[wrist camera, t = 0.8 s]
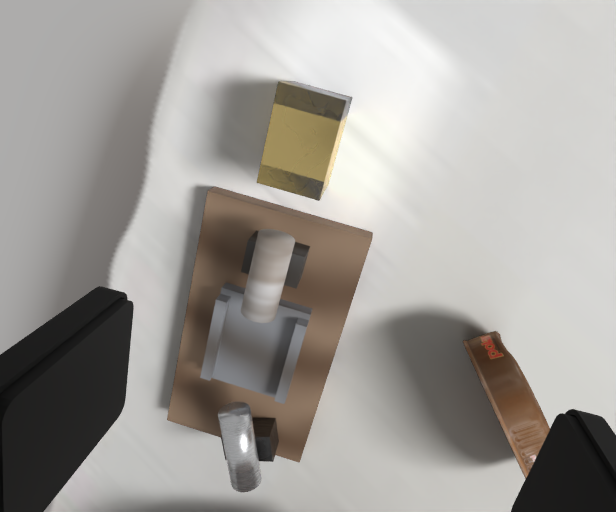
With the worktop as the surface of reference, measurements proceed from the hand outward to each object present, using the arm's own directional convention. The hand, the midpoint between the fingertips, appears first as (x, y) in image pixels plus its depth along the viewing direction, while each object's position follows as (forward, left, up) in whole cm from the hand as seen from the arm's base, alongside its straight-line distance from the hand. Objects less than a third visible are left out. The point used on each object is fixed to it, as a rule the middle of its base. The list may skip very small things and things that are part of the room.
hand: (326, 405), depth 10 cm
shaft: (+21, -3, -23) cm, 32 cm away
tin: (+13, +15, -25) cm, 32 cm away
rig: (+14, -5, -25) cm, 29 cm away
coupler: (-2, -5, -25) cm, 25 cm away
